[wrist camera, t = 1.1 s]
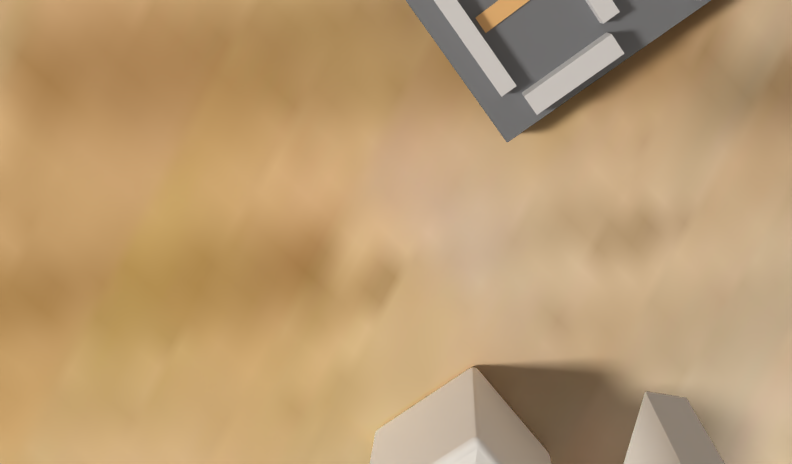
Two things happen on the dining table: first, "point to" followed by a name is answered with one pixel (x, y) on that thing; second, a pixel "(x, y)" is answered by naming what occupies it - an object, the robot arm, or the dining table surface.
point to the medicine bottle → (458, 429)
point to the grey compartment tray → (541, 47)
